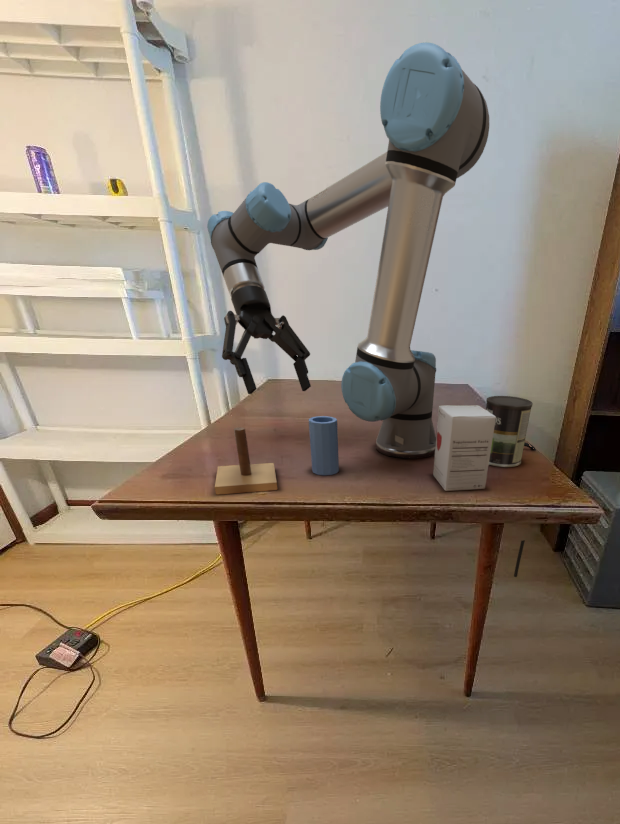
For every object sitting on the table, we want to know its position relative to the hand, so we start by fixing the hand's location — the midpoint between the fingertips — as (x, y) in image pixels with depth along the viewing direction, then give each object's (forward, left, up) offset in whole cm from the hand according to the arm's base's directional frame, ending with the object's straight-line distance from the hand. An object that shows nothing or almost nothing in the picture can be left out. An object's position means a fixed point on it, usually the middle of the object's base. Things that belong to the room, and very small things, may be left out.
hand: (281, 390), depth 94 cm
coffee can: (-49, +14, -14) cm, 53 cm away
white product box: (-33, +25, -14) cm, 44 cm away
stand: (+9, +16, -14) cm, 23 cm away
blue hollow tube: (-7, +13, -14) cm, 21 cm away
